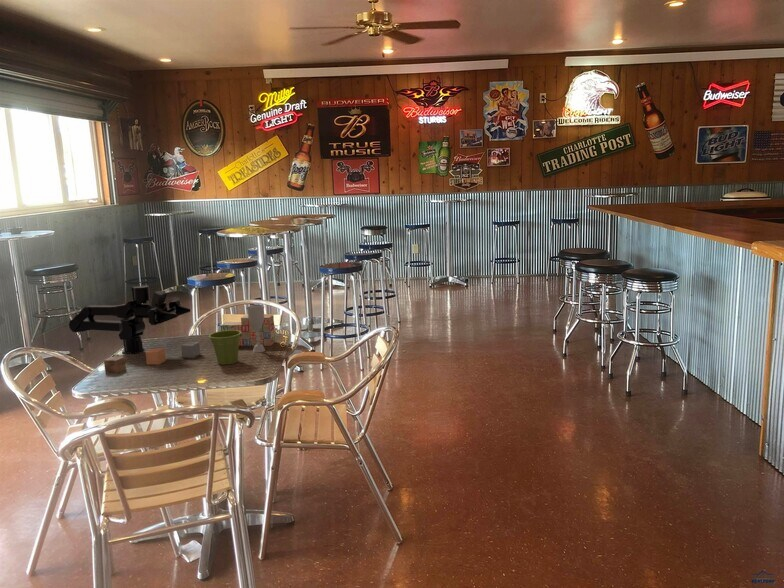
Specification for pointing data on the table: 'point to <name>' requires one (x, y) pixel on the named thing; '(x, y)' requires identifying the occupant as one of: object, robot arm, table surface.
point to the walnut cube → (115, 364)
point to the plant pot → (226, 346)
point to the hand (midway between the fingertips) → (183, 312)
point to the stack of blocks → (253, 331)
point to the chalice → (256, 323)
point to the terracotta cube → (155, 356)
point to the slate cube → (190, 349)
